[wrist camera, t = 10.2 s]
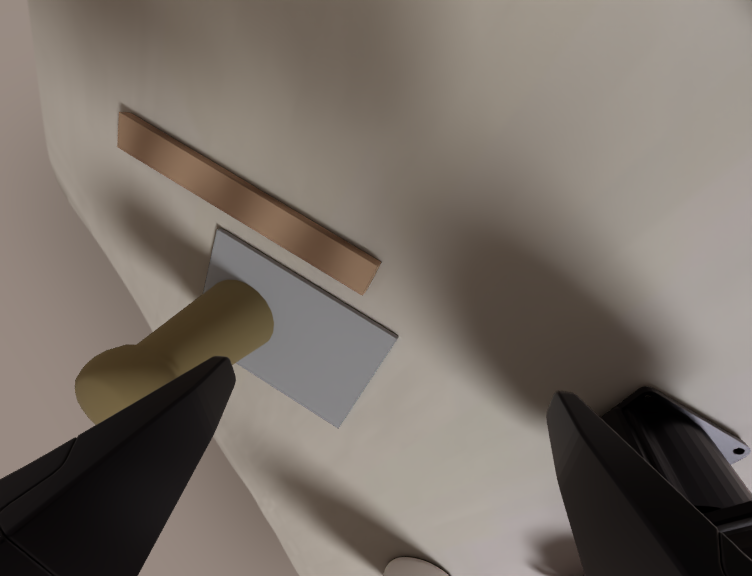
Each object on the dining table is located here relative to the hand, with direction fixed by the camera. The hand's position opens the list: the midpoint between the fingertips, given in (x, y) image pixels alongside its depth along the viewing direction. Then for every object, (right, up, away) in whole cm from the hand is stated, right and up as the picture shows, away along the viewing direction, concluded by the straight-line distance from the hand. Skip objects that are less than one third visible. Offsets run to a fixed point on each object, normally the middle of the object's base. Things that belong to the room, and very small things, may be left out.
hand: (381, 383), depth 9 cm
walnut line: (-9, +9, +13) cm, 18 cm away
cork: (-11, +1, +17) cm, 21 cm away
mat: (-7, -1, +17) cm, 19 cm away
